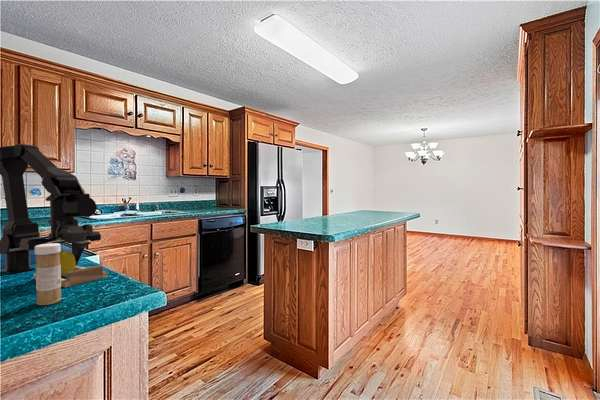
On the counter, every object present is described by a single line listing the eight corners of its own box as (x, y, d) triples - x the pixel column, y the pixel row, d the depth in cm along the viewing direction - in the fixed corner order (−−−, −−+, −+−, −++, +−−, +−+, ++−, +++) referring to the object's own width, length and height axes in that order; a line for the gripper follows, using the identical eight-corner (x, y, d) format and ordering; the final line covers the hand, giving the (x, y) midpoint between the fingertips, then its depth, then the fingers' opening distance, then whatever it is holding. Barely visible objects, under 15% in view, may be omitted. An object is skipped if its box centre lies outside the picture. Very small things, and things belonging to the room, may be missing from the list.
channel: (33, 279, 88) (33, 267, 88) (75, 270, 98) (75, 259, 98) (65, 287, 80) (65, 274, 80) (107, 276, 90) (107, 265, 90)
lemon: (57, 275, 92) (56, 249, 92) (78, 273, 94) (77, 247, 94) (49, 280, 87) (48, 252, 87) (72, 277, 89) (71, 251, 89)
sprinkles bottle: (46, 299, 72) (44, 242, 71) (66, 298, 72) (65, 242, 72) (30, 306, 67) (29, 246, 67) (52, 305, 67) (51, 246, 67)
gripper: (38, 220, 78) (40, 279, 78) (110, 214, 95) (112, 264, 95) (17, 218, 83) (19, 274, 83) (90, 213, 100) (91, 260, 100)
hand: (64, 268), depth 90 cm, fingers closed on lemon, 6 cm apart
